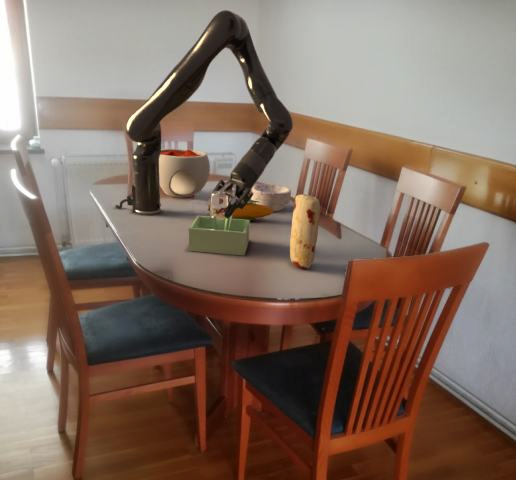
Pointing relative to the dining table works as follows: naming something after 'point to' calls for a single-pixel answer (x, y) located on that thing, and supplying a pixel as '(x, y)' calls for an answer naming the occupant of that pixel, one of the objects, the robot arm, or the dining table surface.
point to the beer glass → (219, 210)
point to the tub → (219, 237)
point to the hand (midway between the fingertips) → (217, 213)
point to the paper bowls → (271, 196)
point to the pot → (183, 172)
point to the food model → (304, 230)
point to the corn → (251, 211)
